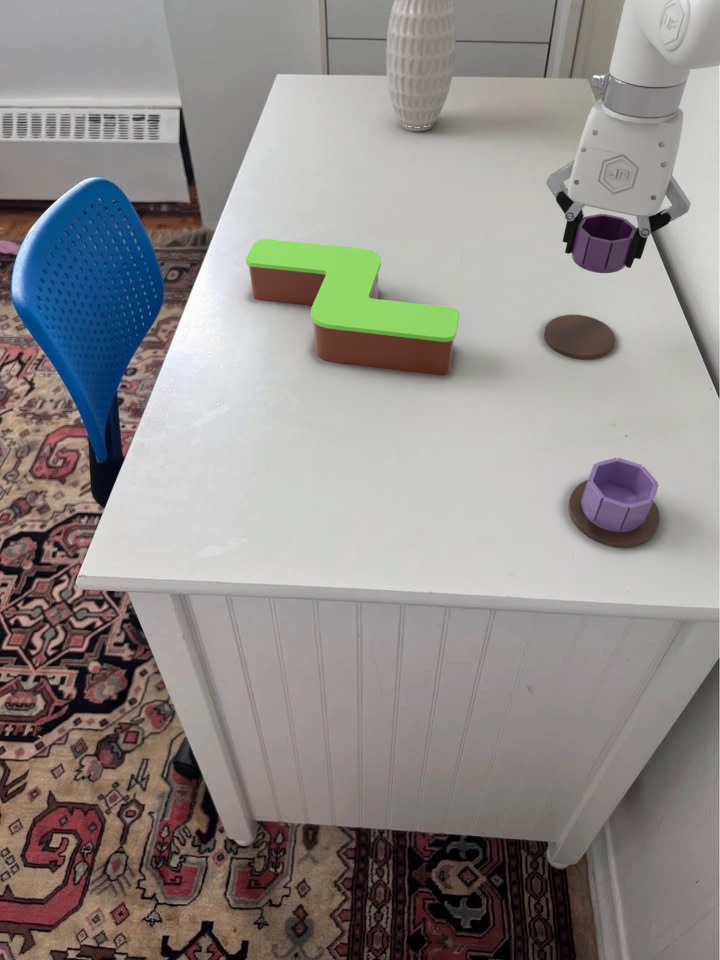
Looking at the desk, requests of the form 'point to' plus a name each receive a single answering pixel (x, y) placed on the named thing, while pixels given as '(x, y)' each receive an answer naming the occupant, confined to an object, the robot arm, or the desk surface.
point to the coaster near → (609, 537)
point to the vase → (420, 59)
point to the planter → (353, 307)
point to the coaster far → (579, 336)
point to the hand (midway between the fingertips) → (600, 254)
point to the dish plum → (602, 243)
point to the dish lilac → (618, 495)
